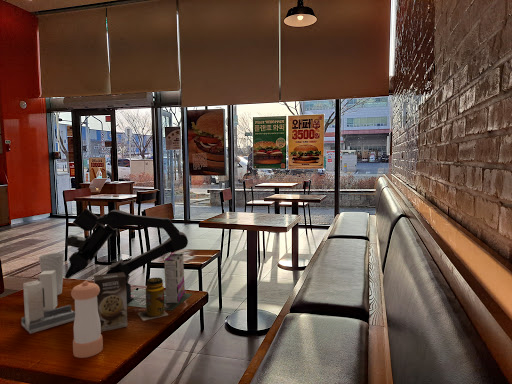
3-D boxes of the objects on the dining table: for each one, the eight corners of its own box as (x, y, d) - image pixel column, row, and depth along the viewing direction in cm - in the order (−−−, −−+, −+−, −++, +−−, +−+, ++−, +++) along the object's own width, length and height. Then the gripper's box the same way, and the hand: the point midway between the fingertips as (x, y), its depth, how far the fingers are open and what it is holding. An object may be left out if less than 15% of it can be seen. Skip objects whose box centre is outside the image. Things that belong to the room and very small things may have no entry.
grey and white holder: (70, 311, 124) (68, 272, 123) (80, 318, 118) (78, 277, 117) (21, 325, 113) (19, 282, 112) (30, 333, 107) (27, 288, 106)
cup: (47, 290, 146) (45, 253, 145) (69, 289, 147) (67, 252, 146) (36, 298, 137) (34, 258, 136) (60, 297, 138) (58, 257, 137)
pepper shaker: (97, 357, 93) (94, 285, 92) (68, 358, 93) (64, 286, 91) (106, 343, 100) (103, 277, 99) (79, 345, 100) (76, 277, 99)
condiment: (168, 315, 120) (167, 280, 119) (143, 321, 115) (142, 285, 114) (161, 308, 126) (160, 275, 125) (137, 313, 121) (136, 279, 121)
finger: (57, 305, 130) (55, 270, 129) (53, 309, 126) (51, 273, 125) (43, 306, 129) (41, 271, 128) (39, 311, 125) (37, 274, 124)
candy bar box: (172, 293, 142) (171, 252, 141) (185, 292, 142) (184, 252, 140) (164, 303, 130) (163, 259, 129) (178, 303, 130) (177, 259, 129)
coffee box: (96, 333, 107) (94, 280, 106) (95, 325, 113) (92, 275, 112) (128, 326, 111) (126, 276, 110) (125, 319, 117) (123, 270, 116)
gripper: (84, 222, 137) (57, 255, 135) (71, 230, 119) (40, 268, 117) (108, 239, 139) (82, 271, 138) (100, 249, 121) (69, 287, 120)
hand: (69, 274), depth 128 cm, fingers open, 9 cm apart
